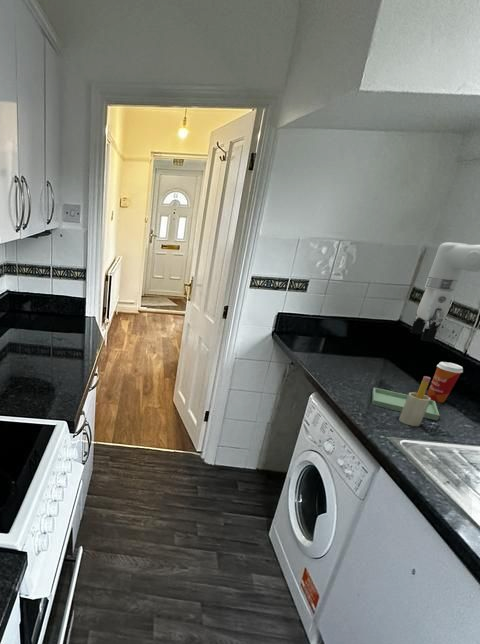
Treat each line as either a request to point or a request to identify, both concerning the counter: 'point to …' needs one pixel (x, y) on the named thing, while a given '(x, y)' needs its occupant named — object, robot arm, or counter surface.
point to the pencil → (423, 387)
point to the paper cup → (444, 381)
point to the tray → (399, 402)
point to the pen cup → (414, 409)
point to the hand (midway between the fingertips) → (420, 337)
